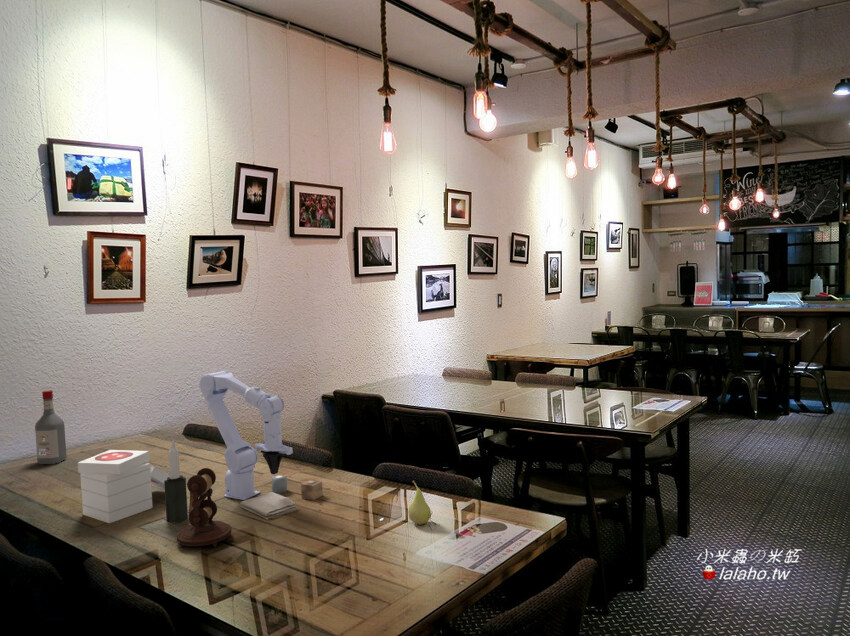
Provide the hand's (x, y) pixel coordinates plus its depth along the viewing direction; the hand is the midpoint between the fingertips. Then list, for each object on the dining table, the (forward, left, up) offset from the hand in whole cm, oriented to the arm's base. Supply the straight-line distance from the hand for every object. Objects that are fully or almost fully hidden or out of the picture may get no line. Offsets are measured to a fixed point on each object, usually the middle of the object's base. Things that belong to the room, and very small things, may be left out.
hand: (274, 473), depth 209 cm
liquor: (-120, 0, -10) cm, 120 cm away
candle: (-18, -25, -10) cm, 32 cm away
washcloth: (+2, -6, -10) cm, 12 cm away
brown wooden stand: (+2, -33, -10) cm, 34 cm away
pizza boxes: (-42, -22, -10) cm, 48 cm away
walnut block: (+9, +8, -10) cm, 15 cm away
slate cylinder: (-5, +8, -9) cm, 13 cm away
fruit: (+53, +2, -10) cm, 54 cm away
